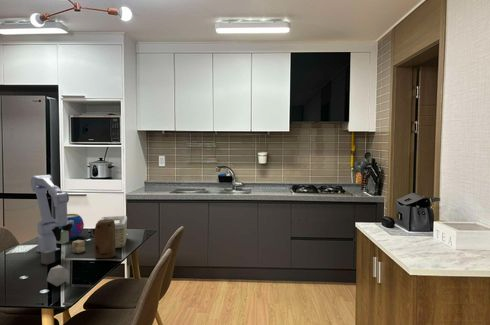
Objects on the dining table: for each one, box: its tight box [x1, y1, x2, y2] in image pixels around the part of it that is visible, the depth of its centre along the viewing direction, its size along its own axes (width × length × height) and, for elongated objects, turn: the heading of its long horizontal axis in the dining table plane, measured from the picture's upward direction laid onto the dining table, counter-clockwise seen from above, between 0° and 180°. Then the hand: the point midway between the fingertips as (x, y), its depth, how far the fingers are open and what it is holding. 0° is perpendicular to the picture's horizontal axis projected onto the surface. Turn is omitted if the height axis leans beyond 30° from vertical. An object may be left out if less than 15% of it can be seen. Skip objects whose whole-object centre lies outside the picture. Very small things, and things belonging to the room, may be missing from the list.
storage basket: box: [99, 215, 128, 249], centre depth 223 cm, size 24×16×15 cm
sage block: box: [56, 230, 70, 245], centre depth 198 cm, size 4×4×6 cm
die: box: [46, 264, 70, 287], centre depth 160 cm, size 8×9×10 cm
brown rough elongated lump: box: [93, 219, 116, 259], centre depth 197 cm, size 11×8×20 cm
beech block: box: [71, 239, 86, 254], centre depth 207 cm, size 4×4×6 cm
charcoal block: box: [40, 250, 56, 265], centre depth 188 cm, size 4×4×6 cm
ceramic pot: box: [59, 213, 85, 240], centre depth 235 cm, size 18×18×15 cm
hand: (62, 239), depth 198 cm, fingers closed on sage block, 4 cm apart
